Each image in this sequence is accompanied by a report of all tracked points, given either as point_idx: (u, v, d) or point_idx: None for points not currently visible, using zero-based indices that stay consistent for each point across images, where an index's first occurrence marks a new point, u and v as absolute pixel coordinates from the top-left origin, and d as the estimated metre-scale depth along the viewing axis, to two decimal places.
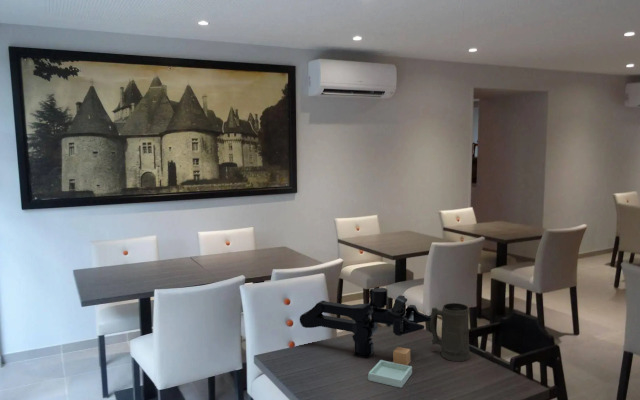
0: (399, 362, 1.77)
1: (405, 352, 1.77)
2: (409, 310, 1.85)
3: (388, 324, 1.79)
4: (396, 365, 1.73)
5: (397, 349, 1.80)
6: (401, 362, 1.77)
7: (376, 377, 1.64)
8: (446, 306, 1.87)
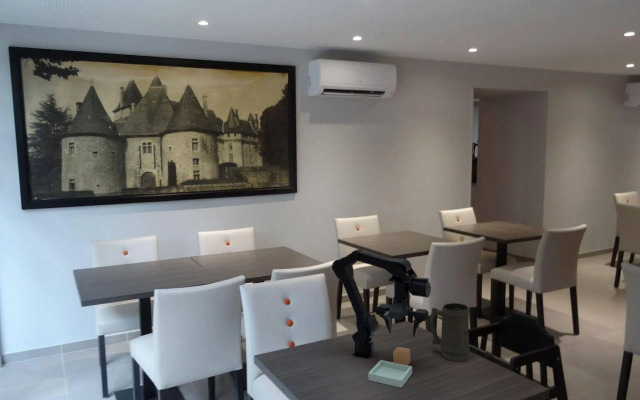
0: (399, 362, 1.77)
1: (405, 352, 1.77)
2: None
3: None
4: (396, 365, 1.73)
5: (397, 349, 1.80)
6: (401, 362, 1.77)
7: (376, 377, 1.64)
8: (446, 306, 1.87)
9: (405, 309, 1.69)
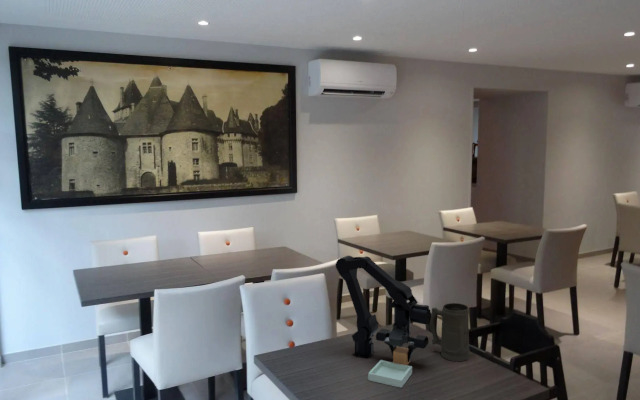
0: (399, 362, 1.77)
1: (405, 352, 1.77)
2: None
3: None
4: (396, 365, 1.73)
5: (397, 349, 1.79)
6: (401, 362, 1.77)
7: (376, 377, 1.64)
8: (446, 306, 1.87)
9: (405, 336, 1.70)
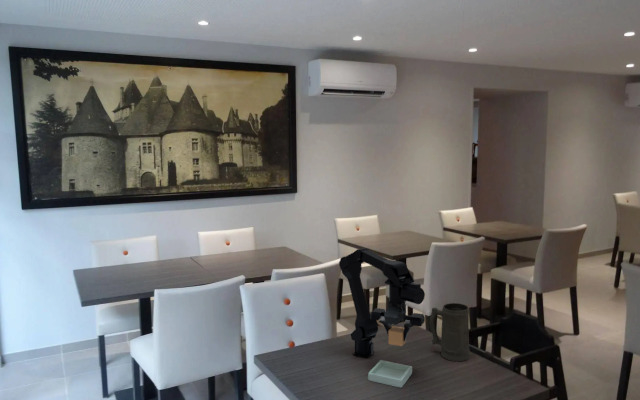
0: (395, 341, 1.71)
1: (401, 331, 1.71)
2: None
3: None
4: (396, 365, 1.73)
5: (392, 328, 1.73)
6: (397, 341, 1.70)
7: (376, 377, 1.64)
8: (446, 306, 1.87)
9: (401, 314, 1.64)
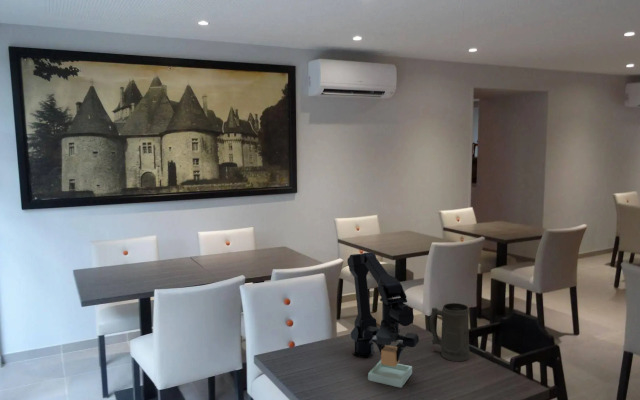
0: (387, 361, 1.66)
1: (394, 351, 1.66)
2: None
3: None
4: (396, 365, 1.73)
5: (385, 348, 1.68)
6: (389, 361, 1.65)
7: (376, 377, 1.64)
8: (446, 306, 1.87)
9: (393, 334, 1.59)
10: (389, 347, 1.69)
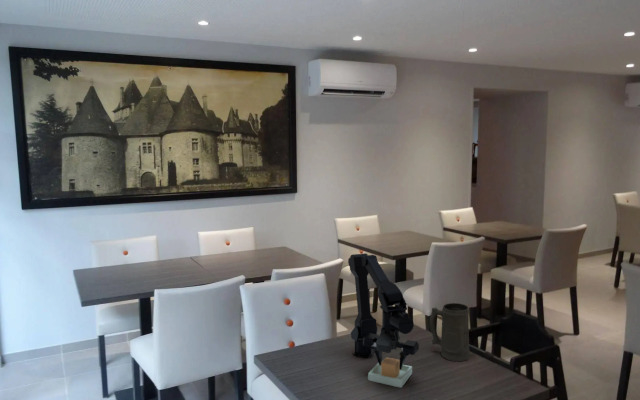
0: (387, 374, 1.66)
1: (394, 363, 1.66)
2: None
3: None
4: None
5: (385, 360, 1.69)
6: (389, 374, 1.66)
7: (376, 377, 1.64)
8: (446, 306, 1.87)
9: (393, 342, 1.59)
10: (389, 359, 1.69)
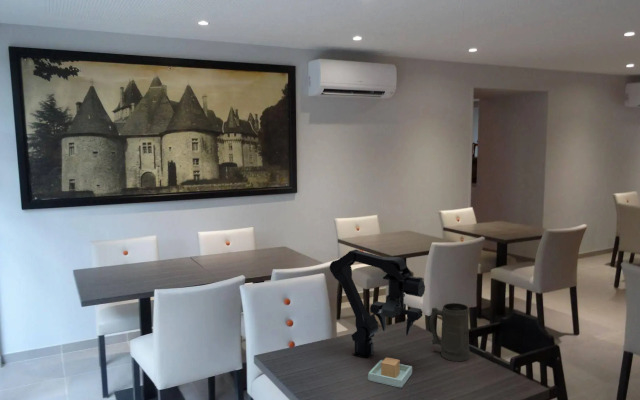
0: (387, 374, 1.66)
1: (394, 363, 1.66)
2: None
3: None
4: None
5: (385, 360, 1.69)
6: (389, 374, 1.66)
7: (376, 377, 1.64)
8: (446, 306, 1.87)
9: (398, 307, 1.69)
10: (389, 359, 1.69)
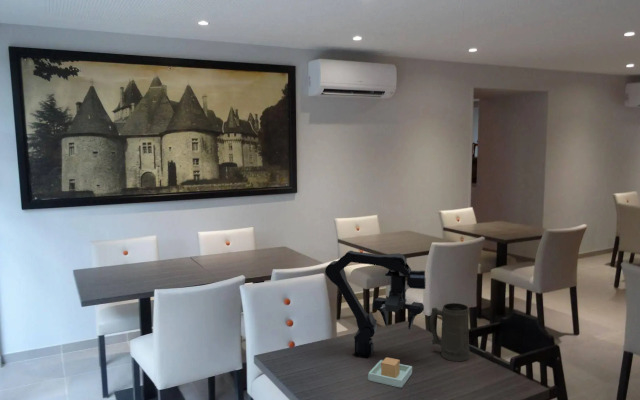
0: (387, 374, 1.66)
1: (394, 363, 1.66)
2: None
3: None
4: None
5: (385, 360, 1.69)
6: (389, 374, 1.66)
7: (376, 377, 1.64)
8: (446, 306, 1.87)
9: (401, 302, 1.74)
10: (389, 359, 1.69)
